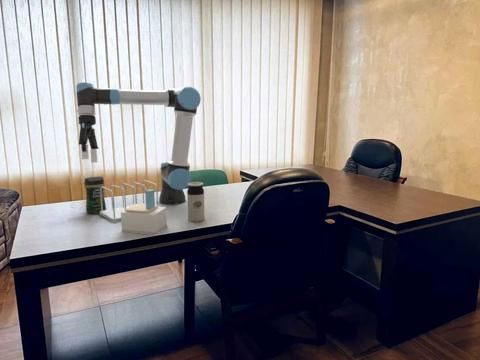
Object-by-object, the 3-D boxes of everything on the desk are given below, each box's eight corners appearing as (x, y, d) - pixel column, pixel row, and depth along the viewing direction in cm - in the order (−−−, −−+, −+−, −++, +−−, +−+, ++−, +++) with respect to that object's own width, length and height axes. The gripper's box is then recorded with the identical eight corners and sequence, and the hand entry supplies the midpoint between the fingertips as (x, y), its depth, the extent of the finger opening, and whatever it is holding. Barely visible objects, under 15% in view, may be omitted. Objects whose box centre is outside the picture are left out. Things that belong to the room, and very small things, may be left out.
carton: (121, 232, 166) (120, 212, 164) (135, 223, 177) (134, 205, 176) (155, 234, 162) (154, 214, 160) (167, 226, 174) (166, 207, 172)
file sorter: (113, 223, 179) (110, 191, 176) (99, 215, 192) (97, 185, 189) (160, 213, 195) (158, 183, 192) (144, 206, 208) (143, 178, 205)
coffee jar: (89, 215, 192) (86, 179, 188) (84, 211, 198) (81, 176, 194) (108, 211, 197) (105, 177, 194) (103, 208, 203) (100, 174, 200)
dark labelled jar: (188, 217, 187) (187, 182, 183) (204, 216, 188) (203, 181, 184) (187, 222, 179) (186, 185, 176) (204, 221, 180) (203, 185, 176)
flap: (125, 211, 165) (123, 191, 163) (136, 205, 174) (135, 186, 172) (148, 212, 162) (146, 193, 160) (158, 206, 172) (157, 188, 170)
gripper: (87, 122, 189) (90, 164, 188) (68, 110, 164) (72, 158, 163) (102, 121, 190) (105, 162, 189) (86, 108, 165) (90, 156, 164)
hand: (90, 160), depth 176 cm, fingers open, 13 cm apart
